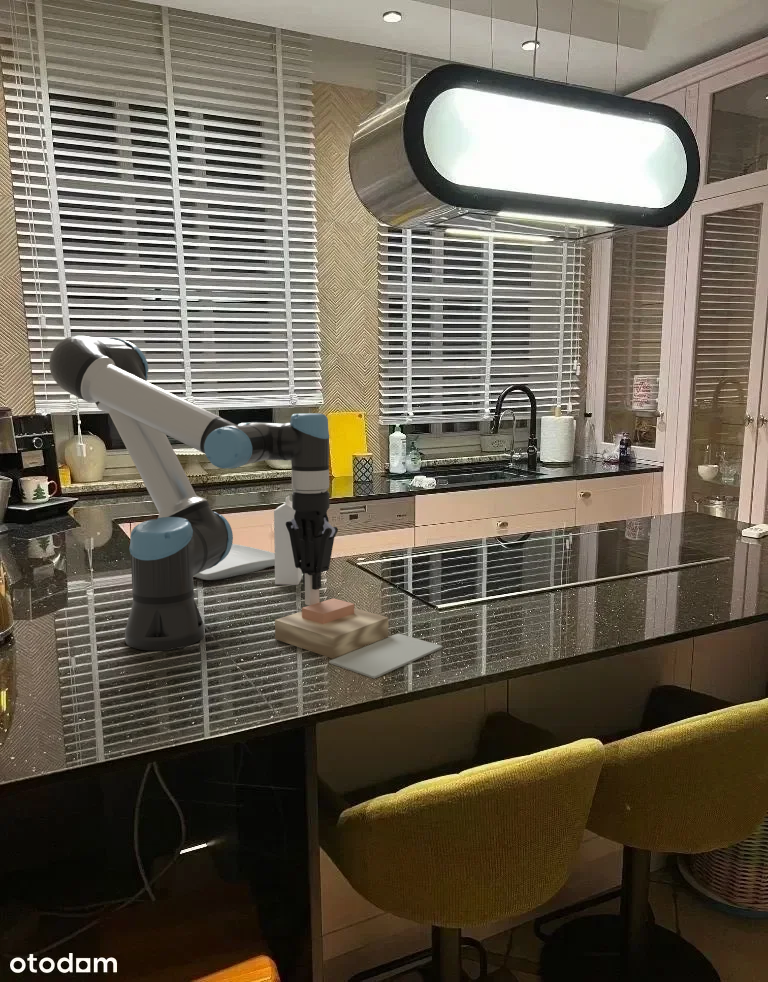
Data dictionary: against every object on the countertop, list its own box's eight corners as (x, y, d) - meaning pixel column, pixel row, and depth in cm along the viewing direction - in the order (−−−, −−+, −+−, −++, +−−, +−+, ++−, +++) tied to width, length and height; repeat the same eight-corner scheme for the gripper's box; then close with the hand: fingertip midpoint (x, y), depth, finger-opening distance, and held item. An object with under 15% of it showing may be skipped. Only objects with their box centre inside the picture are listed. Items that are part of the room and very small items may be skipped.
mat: (374, 678, 130) (374, 676, 130) (329, 663, 137) (329, 660, 137) (442, 647, 145) (442, 645, 145) (398, 635, 152) (398, 633, 152)
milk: (275, 584, 189) (272, 498, 186) (279, 578, 195) (277, 494, 192) (299, 584, 189) (297, 498, 186) (302, 578, 195) (300, 494, 192)
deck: (332, 658, 139) (332, 637, 139) (275, 639, 150) (274, 619, 149) (388, 636, 151) (388, 617, 151) (331, 620, 162) (331, 602, 161)
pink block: (323, 623, 147) (323, 614, 146) (301, 617, 151) (301, 608, 150) (354, 613, 154) (354, 603, 153) (333, 607, 157) (333, 598, 157)
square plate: (289, 568, 207) (288, 554, 207) (205, 588, 187) (205, 573, 186) (229, 552, 225) (228, 540, 225) (147, 569, 205) (146, 555, 204)
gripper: (347, 491, 150) (347, 605, 154) (301, 485, 158) (303, 593, 162) (320, 495, 144) (321, 614, 148) (274, 489, 153) (277, 601, 156)
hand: (312, 603), depth 155 cm, fingers closed
